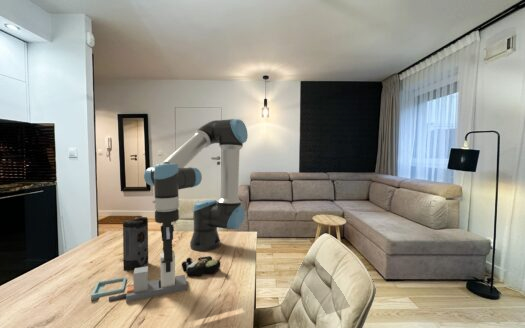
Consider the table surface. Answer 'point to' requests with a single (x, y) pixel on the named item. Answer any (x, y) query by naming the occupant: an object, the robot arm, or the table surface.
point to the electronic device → (135, 243)
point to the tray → (99, 288)
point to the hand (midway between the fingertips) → (167, 276)
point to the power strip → (149, 287)
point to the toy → (200, 266)
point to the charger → (166, 283)
